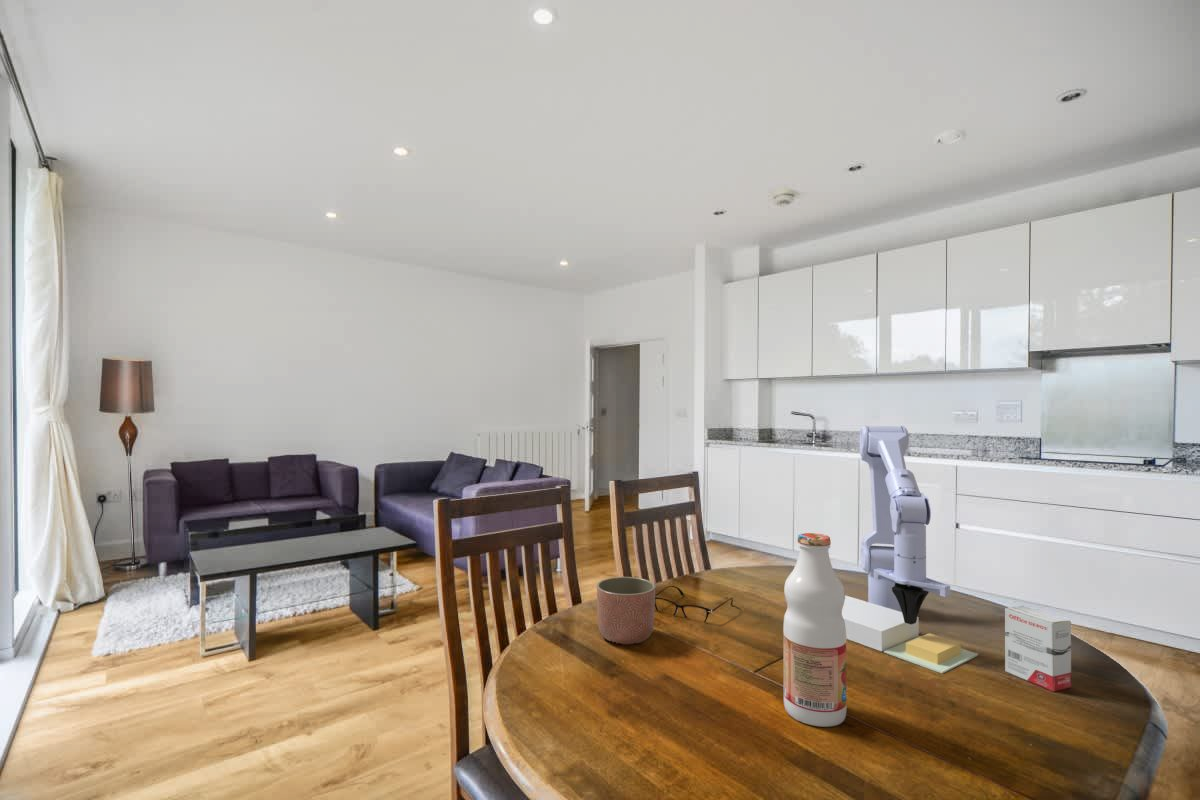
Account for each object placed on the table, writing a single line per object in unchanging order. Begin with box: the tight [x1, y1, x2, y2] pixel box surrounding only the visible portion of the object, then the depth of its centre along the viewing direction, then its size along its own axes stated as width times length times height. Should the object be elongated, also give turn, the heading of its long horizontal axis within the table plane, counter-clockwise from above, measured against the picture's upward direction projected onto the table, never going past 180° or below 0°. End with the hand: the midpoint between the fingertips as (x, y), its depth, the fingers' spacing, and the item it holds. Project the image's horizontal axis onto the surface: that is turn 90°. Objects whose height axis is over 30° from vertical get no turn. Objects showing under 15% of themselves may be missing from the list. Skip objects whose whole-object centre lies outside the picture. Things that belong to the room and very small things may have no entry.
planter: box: [596, 576, 656, 645], centre depth 122 cm, size 12×12×11 cm
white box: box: [842, 594, 920, 652], centre depth 128 cm, size 14×22×4 cm, turn 34°
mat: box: [883, 635, 979, 674], centre depth 114 cm, size 14×11×1 cm
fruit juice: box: [782, 532, 847, 728], centre depth 92 cm, size 9×9×28 cm
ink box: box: [1004, 605, 1072, 692], centre depth 104 cm, size 8×5×12 cm, turn 20°
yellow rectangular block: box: [906, 632, 962, 665], centre depth 114 cm, size 9×6×2 cm, turn 124°
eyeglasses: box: [655, 585, 734, 623], centre depth 140 cm, size 16×16×4 cm
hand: (910, 622), depth 118 cm, fingers closed
